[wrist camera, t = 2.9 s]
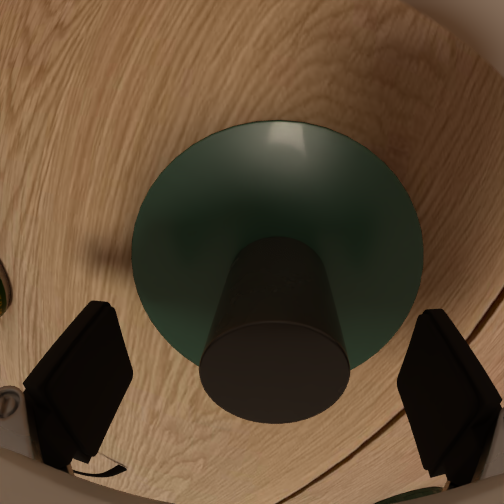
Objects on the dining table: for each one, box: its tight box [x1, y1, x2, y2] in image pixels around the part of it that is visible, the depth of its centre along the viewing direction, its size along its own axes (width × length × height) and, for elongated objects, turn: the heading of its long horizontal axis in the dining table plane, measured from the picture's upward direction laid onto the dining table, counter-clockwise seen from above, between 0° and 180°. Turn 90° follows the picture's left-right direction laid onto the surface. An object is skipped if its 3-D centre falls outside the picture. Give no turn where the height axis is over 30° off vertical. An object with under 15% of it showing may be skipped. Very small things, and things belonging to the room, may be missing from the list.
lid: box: [131, 120, 423, 424], centre depth 11 cm, size 13×13×7 cm
